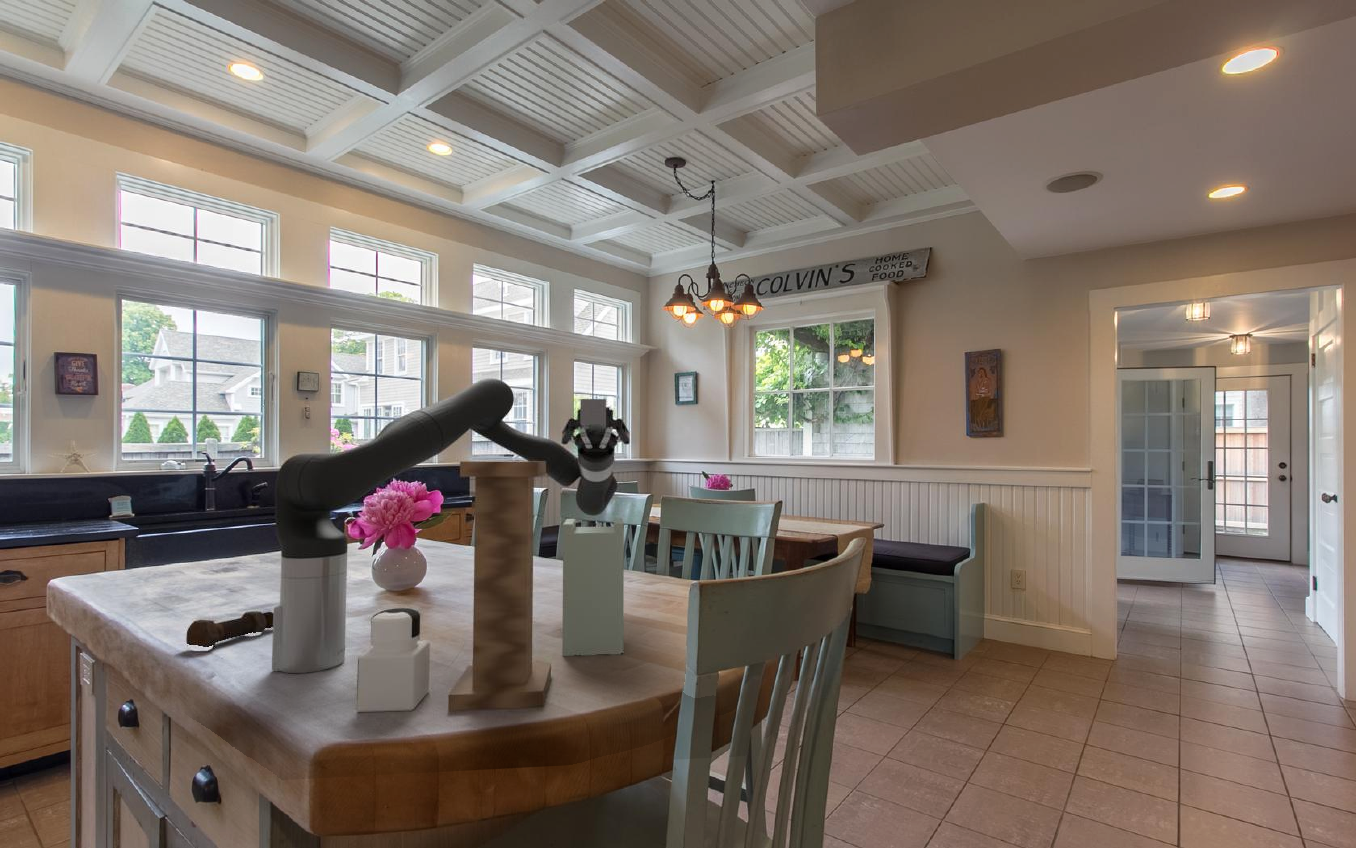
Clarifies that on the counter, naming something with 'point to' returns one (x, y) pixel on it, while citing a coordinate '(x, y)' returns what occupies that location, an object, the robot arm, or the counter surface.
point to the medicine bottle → (393, 663)
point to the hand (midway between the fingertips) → (595, 411)
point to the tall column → (502, 591)
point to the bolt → (227, 628)
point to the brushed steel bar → (593, 414)
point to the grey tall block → (593, 589)
